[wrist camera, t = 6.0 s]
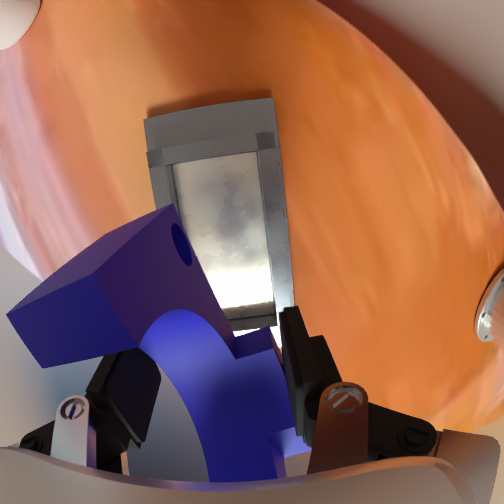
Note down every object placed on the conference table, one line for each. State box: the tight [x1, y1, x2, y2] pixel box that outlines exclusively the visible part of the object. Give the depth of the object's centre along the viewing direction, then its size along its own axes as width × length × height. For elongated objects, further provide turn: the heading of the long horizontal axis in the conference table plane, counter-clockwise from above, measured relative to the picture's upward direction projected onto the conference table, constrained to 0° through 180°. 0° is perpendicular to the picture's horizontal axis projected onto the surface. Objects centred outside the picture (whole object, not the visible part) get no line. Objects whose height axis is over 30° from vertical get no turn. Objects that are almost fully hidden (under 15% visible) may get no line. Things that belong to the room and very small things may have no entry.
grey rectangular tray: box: [143, 98, 294, 347], centre depth 22 cm, size 10×22×3 cm, turn 7°
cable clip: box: [6, 203, 312, 482], centre depth 9 cm, size 12×4×6 cm, turn 20°
